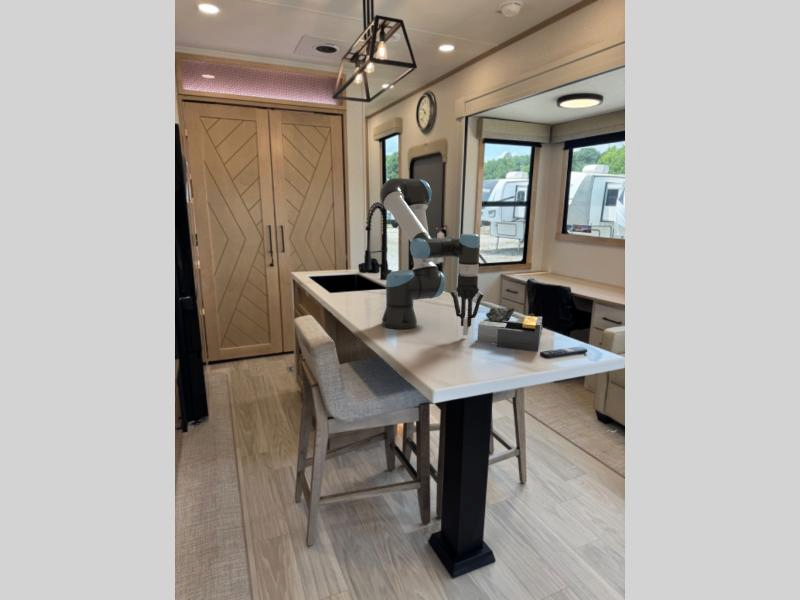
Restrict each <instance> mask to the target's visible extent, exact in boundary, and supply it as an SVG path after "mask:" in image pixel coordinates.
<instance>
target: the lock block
mask: <svg viewBox="0 0 800 600" xmlns="http://www.w3.org/2000/svg"><path fill="white" fill-rule="evenodd" d="M498 328H507V323H498V322H492V321H488V320H487V321H486V320H480V321H479V323H478V324H477V340H476V341H477V343H483V344H484V343H485V344H491V345H493V344H494V345H497V335H498Z"/></svg>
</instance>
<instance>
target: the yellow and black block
mask: <svg viewBox="0 0 800 600" xmlns="http://www.w3.org/2000/svg"><path fill="white" fill-rule="evenodd" d="M528 316H532V317H536V316H535V313H533V312H530V314H528ZM515 322H524V318H523V319H518V320H517V321H515ZM543 328H544V327H543V324H542V325H541V332H542V331H543Z"/></svg>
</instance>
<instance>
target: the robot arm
mask: <svg viewBox="0 0 800 600" xmlns="http://www.w3.org/2000/svg"><path fill="white" fill-rule="evenodd" d="M379 198H380V202H381V204H382V206H383V208H384V209H385V210H386V211H388V212H390V213H391V215H392V216H393V218H394V220H395V221H396V222H397V224H398V225H399V227H400V228H401V230H402V231H403V233H404V234H405V236H406V237H407V239H408V241H409V242H410V244H409V251H410V254H411V256H412V260H413V267H412V269H399V270H394V271H391V272H389V273H388V274H387V276H386V283H385V286H386V288H385V290H386V292H385V293H386V294H385V295H386V297H385V298H386V299H385V300H386V301H385V310H384V314H383V317H382V319H381V325H382V326H383V327H384V326H385V327H384V328H387V327H389V328H388V329H392V328H396V329H395V330H407V329H406V328H409V329H413V328H416V325H418V319H417V317H416V313H415V309H414V300H415V301H416V300H424V299H425V300H426V299H434V298H438V297H440V296H441V295H442V294H443V292H444V290H445V288H446V277H445V275H444V273H443V272H442V271H440V270H439V269H438V268H439V267H438V266H437V265H436V264H435V263H434V259H436V258H437V259H438V258H457V259H458V272H457V273H458V276H457V286H456V289H455V290H453V291H451V292H450V295H451V298H452V299H453V306H454V310H455V311H454V312H455V315H456V316H457V317H458V318H460V326H461V327H462V335H463V336H468V335H469V328H470V327H471V326H472V319H474V318H476V317H477V314H478V312H479V309H480V305H481V302H482V299H483V297H484V296H485V293H483V292H481V291H480V289H479V287H478V284H479V277H478V275H479V267H480V266H479V263H480V262H479V261H480V247H481V244H480V243H481V241H480V236H479V234H477V233H460V235H459V238H458V237H452V236H450V237H449V236H448V237H447V236H446V237H431V236H430V234H429V226H428V219H427V215H426V211H427V209H428V208H429V205H430V203H431V201H432V188H431V187H430V185H429V183H428V182H427V181H426V180H425V179H419V178H400V177H394V178H390V179H388V180H387V181H385V182H384V183H383V185H382V187H381V189H380V192H379ZM458 295H459V297H460V299H461V300H460V301H459V299H458V298H459V297H458ZM475 296H476V298H477V299H476V302H475V305H474V309H473V301H474V298H475ZM466 301H467V302H466ZM460 302H461V303H460ZM460 304H461V305H460ZM466 307H467V309H466ZM466 310H467V317H466ZM412 327H413V328H412Z"/></svg>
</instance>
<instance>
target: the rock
mask: <svg viewBox="0 0 800 600" xmlns="http://www.w3.org/2000/svg"><path fill="white" fill-rule="evenodd" d="M514 313H515V308H514V307H509V306H507V307H506V308H504V307H498V308H497V307H491V308H490V309H489V311H488V312H487V313H486V314H485V316H486V318H487V319H488V320H490V322H498V323H502V321H503V320H504V321H511V317H512V316H513V314H514Z"/></svg>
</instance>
